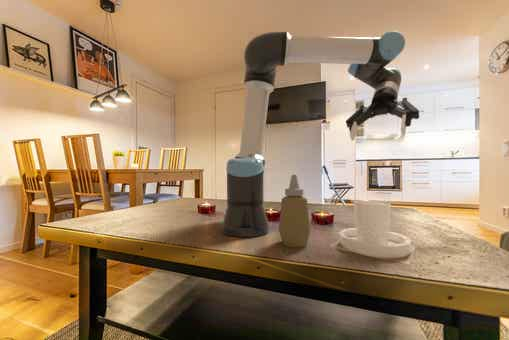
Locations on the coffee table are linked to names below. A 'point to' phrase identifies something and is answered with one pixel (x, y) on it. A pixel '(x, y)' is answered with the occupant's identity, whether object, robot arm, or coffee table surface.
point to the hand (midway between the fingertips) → (375, 134)
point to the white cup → (372, 221)
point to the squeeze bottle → (294, 216)
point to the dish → (376, 245)
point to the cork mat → (401, 260)
